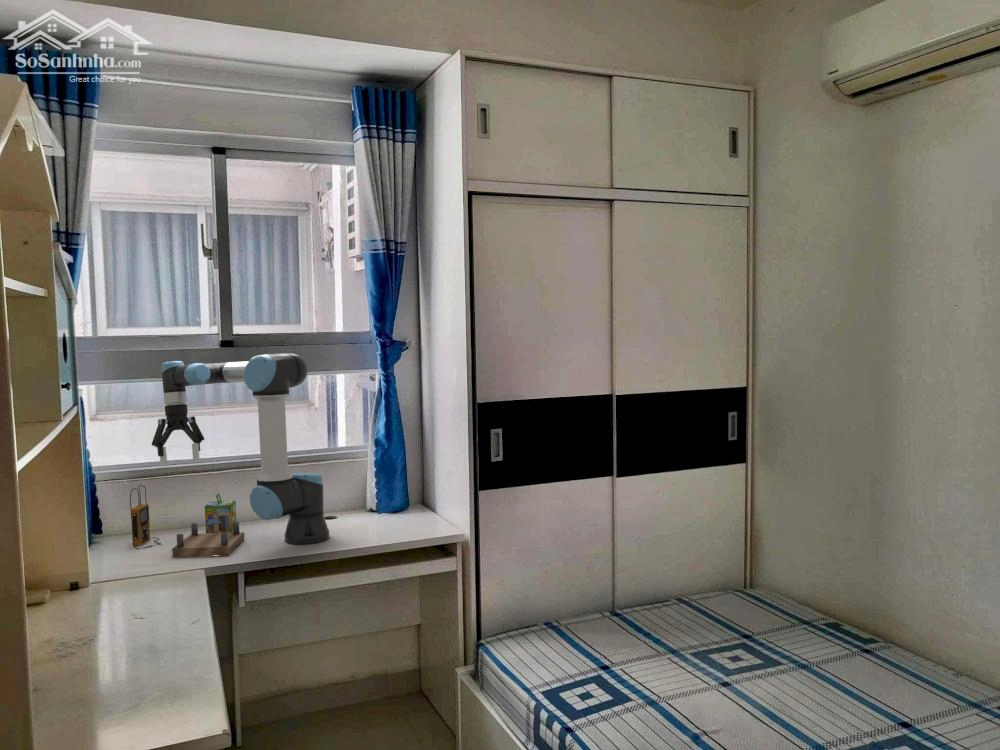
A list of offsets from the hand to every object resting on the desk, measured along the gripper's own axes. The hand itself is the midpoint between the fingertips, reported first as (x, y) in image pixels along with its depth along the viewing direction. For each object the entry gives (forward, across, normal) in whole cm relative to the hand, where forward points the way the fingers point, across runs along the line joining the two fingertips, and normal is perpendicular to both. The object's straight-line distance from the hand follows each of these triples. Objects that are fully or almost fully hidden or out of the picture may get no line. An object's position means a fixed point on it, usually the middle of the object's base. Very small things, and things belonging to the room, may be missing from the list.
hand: (180, 463), depth 279 cm
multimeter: (+26, +13, -1) cm, 29 cm away
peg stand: (+28, +9, +23) cm, 37 cm away
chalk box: (+27, -6, +12) cm, 30 cm away
